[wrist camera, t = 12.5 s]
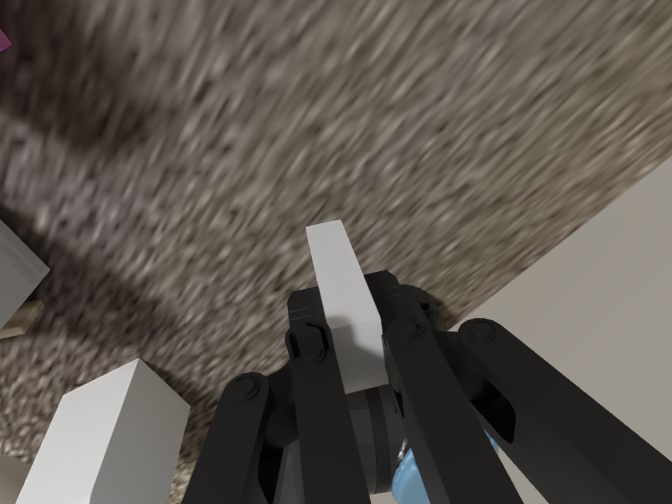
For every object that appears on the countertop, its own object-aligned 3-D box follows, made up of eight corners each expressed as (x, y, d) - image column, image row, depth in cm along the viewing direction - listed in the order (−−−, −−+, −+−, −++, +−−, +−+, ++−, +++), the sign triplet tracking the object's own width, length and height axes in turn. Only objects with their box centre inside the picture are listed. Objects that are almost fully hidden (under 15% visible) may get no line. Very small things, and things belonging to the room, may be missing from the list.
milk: (121, 439, 62) (45, 676, 40) (63, 395, 56) (-64, 643, 34) (190, 406, 61) (152, 630, 39) (139, 357, 55) (59, 588, 33)
